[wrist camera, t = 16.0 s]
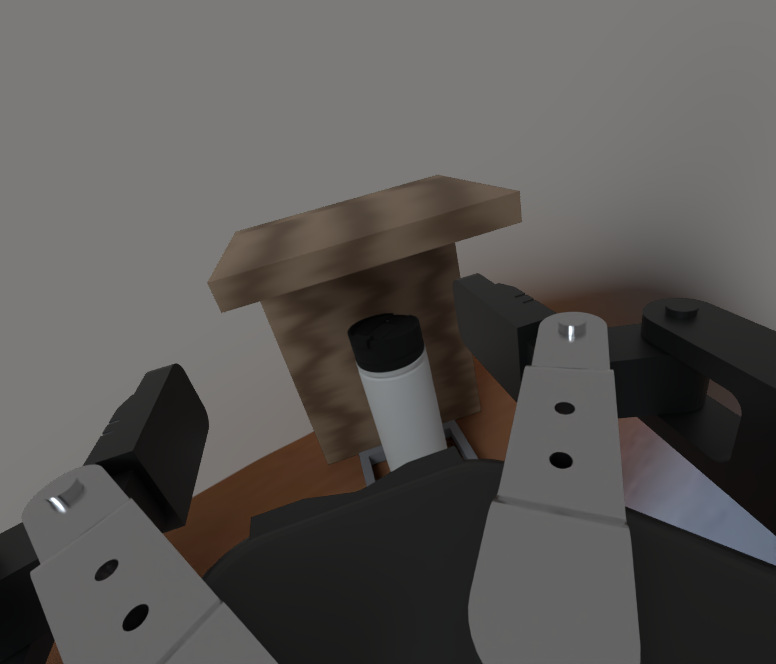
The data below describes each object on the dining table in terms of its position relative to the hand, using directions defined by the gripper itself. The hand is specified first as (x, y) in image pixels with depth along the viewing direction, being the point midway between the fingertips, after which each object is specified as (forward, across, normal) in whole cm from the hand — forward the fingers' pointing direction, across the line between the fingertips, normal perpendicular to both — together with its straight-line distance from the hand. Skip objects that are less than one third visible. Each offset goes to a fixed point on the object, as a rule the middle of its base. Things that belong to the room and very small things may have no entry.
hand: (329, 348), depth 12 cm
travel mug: (+19, -4, +29) cm, 35 cm away
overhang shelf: (+21, -4, +29) cm, 36 cm away
